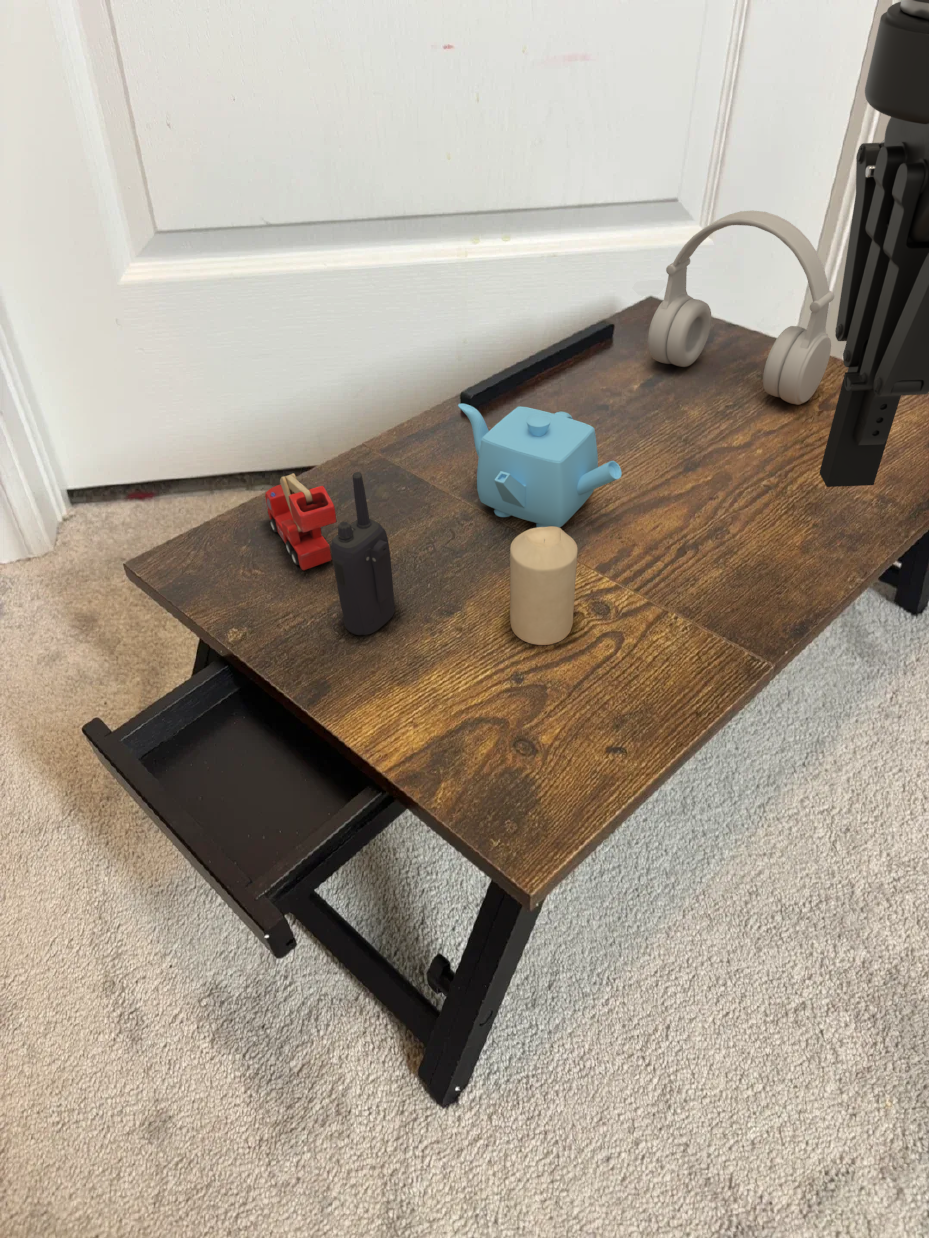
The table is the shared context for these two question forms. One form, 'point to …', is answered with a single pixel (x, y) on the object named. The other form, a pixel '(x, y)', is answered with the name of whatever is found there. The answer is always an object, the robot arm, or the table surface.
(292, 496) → the toy fire truck
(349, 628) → the two-way radio
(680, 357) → the headphones
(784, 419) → the table surface
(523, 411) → the teapot
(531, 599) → the candle
